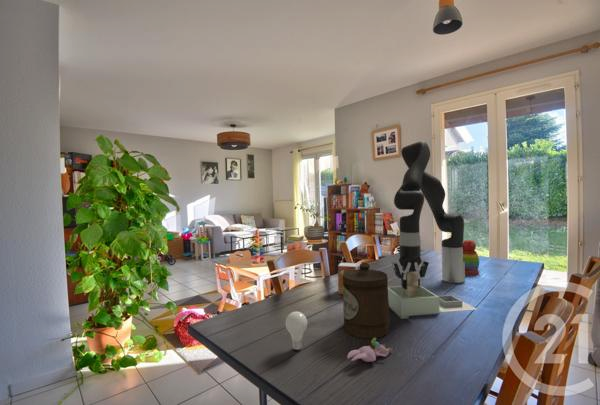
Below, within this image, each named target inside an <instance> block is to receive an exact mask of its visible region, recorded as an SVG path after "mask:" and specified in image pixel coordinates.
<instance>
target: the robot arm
mask: <svg viewBox="0 0 600 405" xmlns="http://www.w3.org/2000/svg"><path fill="white" fill-rule="evenodd" d="M400 152H401V157H402V160H403V161H404V163H405V165H406V167H407V170H406V171H405V173H404V176H403V179H402V184H401V185H400V187H399V188H398V189H397V191H396V192H395V195H394V199H393V204H394V206H395V208H396V209H398V210H401V211H402V210H406V211H408V210H410V211H412V210H413V212H412V213H410V214H407V215H403V216H401V217H400V218H399V236H398V238H399V241H398V242H399V244H398V245H399V246H398V247H399V250H398V251H399V258H398V261H393V262H392V263H391V266H392V268H393V271H394V274H395V276H396V277H397V278H398V279H401V284H400V286H402V287H403V289H407V280H406V278H407V272H409V271H410V270H413V271H416V272H418V288H419V287H420V285H421V282H420V280H421V278H425V276H426V274H427V273H426V272H427V270H428V267H429V262H428V261H427V260H423V259H422V258H421V256H422V254H421V252H422V250H421V249H422V248H421V243H422V241H421V233H420V232H421V231H420V219H421V213H422V210H423V206H424V203H425V200H426V202H427V204H428V206H429V208H430V210H431V213H432V215H433V218H434V221H435V223H436V225H437V228H438V229H439V230H440V231H441V232H444V233H451V235H450V237H448V238H444V239H442V240H441V279H442V281H443V282H446V283H449V284H461V283H465V282H466V275H465V263H464V262H463V249H462V244H463V242H464V237H465V236H464V233H465V221H464V217H463V216H462V215H461V214H455V213H447V212H446V211H445V209H444V201H445V198H446V191H445V188H444V186H443V184H442V182H441V181H440V179H439V178H437V177H436V176H434V175H432V174H431V173H429V172H427V171H425V170H426V169H427V167H428V166H427V165H428V164H429V162H430V158H431V150H430V147H429V145H428V142H426V141H424V140H420V141H417V142H414V143H411V144H408V145H405V146H404V147H402V149H401V151H400ZM400 266H401V271H400ZM419 267H420V269H419ZM404 270H405V271H404Z"/></svg>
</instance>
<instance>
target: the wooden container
mask: <svg viewBox="0 0 600 405" xmlns="http://www.w3.org/2000/svg"><path fill="white" fill-rule="evenodd" d="M370 267H371V265H370V264H369V263H368V262H365V261H363V262H361V263H360V264H359V268H358V269H356V270H349V271H346V272H344V273H343V294H342V295H343V297H342V298H343V300H342V302H343V306H342V307H343V328H344V330H345V331H346V332H347V333H349V334H350V335H352V336H354V337H357V338H362V339H373V338H376V339H378V338H382V337H384V336H387V335H388V334H389V332H390V307H389V301H388V287H389V286H388V284H389V283H388V274H387V273H385V272H384V271H381V270H376V269H370Z"/></svg>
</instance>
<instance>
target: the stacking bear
mask: <svg viewBox="0 0 600 405" xmlns="http://www.w3.org/2000/svg"><path fill="white" fill-rule="evenodd" d="M476 244H477V243H476V242H475V241H473V240H471V239H467V240H463V244H462V249H463V262H464V263H465V276H468V275H469V276H477V275H479V274H480V271H479V267H480V257H479V253H477V251H476V248H477V245H476Z"/></svg>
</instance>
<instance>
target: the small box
mask: <svg viewBox="0 0 600 405" xmlns="http://www.w3.org/2000/svg"><path fill="white" fill-rule="evenodd" d="M337 267H338V268H337V277H338V278H337V280H338V282H337V285H338V286H337V288H338V295H343V273H344V272H346V271H349V270H356V269H359V268H358V262H357V263H354V262H340V263H339V264H338V266H337Z"/></svg>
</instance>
